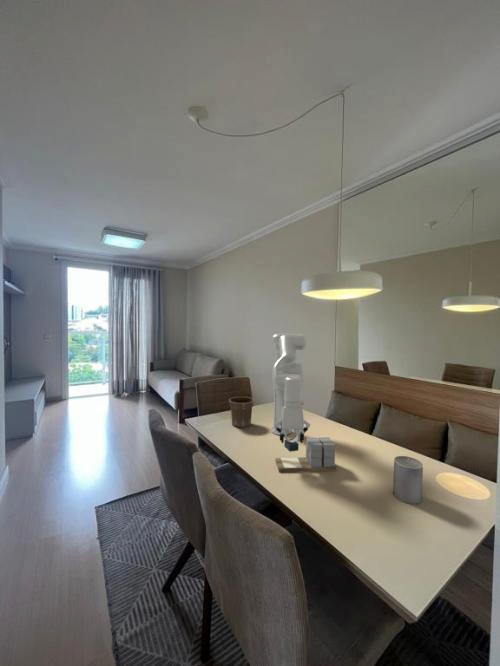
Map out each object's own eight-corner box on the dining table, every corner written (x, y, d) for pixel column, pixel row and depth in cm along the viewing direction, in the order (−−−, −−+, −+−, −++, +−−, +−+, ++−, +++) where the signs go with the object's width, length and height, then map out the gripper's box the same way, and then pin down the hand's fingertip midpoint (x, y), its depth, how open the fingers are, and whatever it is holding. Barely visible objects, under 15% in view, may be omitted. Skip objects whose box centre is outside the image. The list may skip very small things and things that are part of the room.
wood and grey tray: (275, 461, 135) (275, 437, 135) (328, 460, 137) (329, 436, 137) (279, 472, 125) (279, 446, 125) (336, 470, 127) (337, 445, 127)
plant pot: (225, 421, 188) (225, 397, 187) (247, 418, 195) (247, 395, 194) (234, 430, 173) (234, 404, 173) (257, 426, 180) (258, 401, 179)
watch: (302, 449, 129) (302, 426, 129) (286, 452, 126) (286, 427, 126) (296, 444, 134) (297, 421, 134) (280, 446, 132) (281, 423, 131)
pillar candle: (396, 486, 116) (397, 450, 115) (424, 495, 110) (425, 457, 109) (390, 497, 108) (391, 459, 108) (419, 508, 102) (420, 467, 101)
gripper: (308, 401, 134) (308, 438, 135) (272, 401, 133) (271, 438, 133) (313, 406, 127) (312, 445, 127) (275, 406, 125) (274, 445, 126)
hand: (291, 441), depth 130 cm, fingers closed on watch, 8 cm apart
